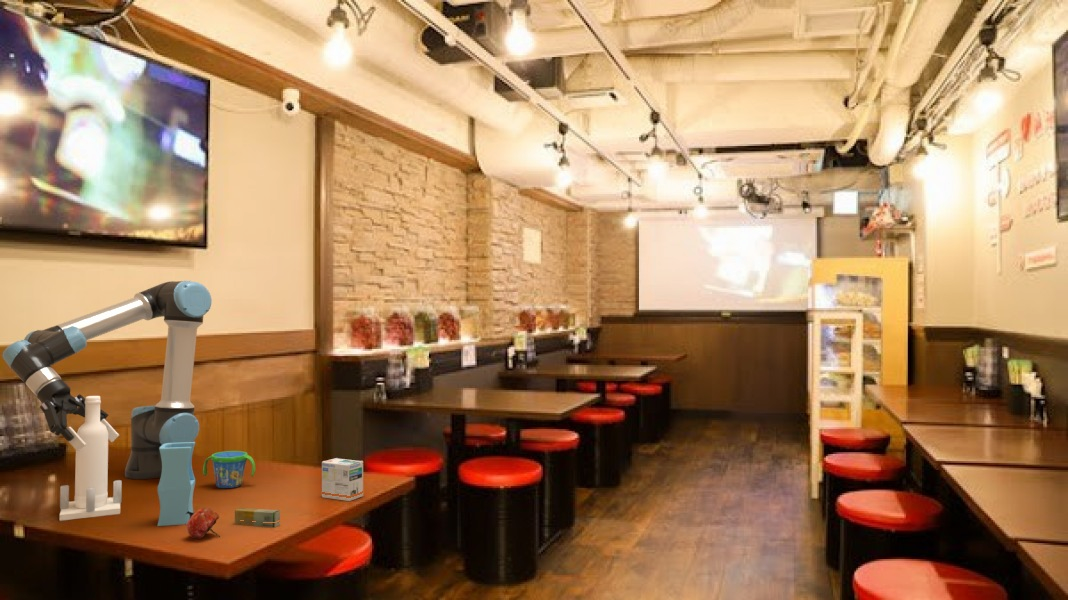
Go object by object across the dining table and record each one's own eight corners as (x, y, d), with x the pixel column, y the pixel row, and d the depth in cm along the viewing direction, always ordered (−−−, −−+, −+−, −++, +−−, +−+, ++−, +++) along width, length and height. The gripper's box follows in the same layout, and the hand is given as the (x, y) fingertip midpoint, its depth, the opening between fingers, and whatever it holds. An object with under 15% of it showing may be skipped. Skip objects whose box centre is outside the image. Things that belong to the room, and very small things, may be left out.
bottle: (67, 507, 204) (69, 397, 204) (93, 500, 212) (95, 394, 212) (88, 510, 202) (90, 399, 202) (114, 503, 209) (116, 395, 209)
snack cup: (260, 482, 240) (260, 451, 240) (245, 491, 229) (246, 457, 229) (213, 481, 241) (213, 450, 241) (196, 489, 230) (196, 456, 230)
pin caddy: (121, 501, 216) (121, 475, 216) (121, 513, 204) (121, 486, 204) (61, 507, 209) (61, 480, 209) (58, 521, 197) (58, 492, 197)
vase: (190, 523, 195) (191, 447, 195) (157, 526, 193) (157, 448, 193) (194, 515, 203) (195, 441, 203) (163, 517, 201) (163, 443, 201)
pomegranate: (220, 540, 189) (190, 516, 189) (235, 519, 187) (205, 494, 188) (203, 553, 181) (171, 527, 182) (218, 531, 180) (187, 505, 181)
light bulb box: (363, 496, 224) (364, 460, 224) (349, 501, 218) (349, 464, 218) (335, 492, 229) (335, 457, 229) (320, 497, 223) (320, 461, 223)
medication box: (280, 525, 195) (280, 509, 195) (274, 528, 193) (275, 512, 193) (239, 522, 198) (240, 506, 198) (233, 524, 195) (233, 509, 196)
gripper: (72, 391, 221) (119, 443, 219) (4, 402, 196) (56, 461, 194) (89, 374, 220) (136, 426, 219) (23, 383, 195) (76, 442, 194)
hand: (99, 443), depth 206 cm, fingers open, 13 cm apart
